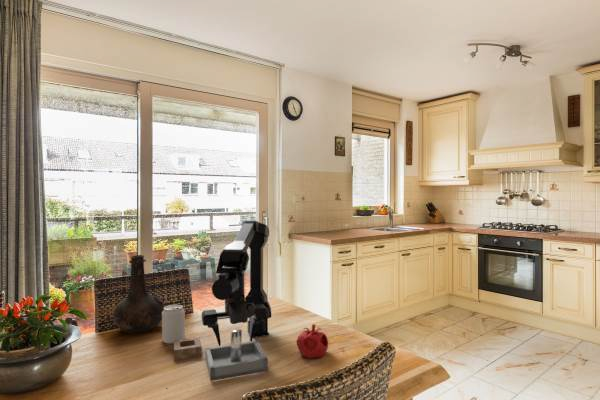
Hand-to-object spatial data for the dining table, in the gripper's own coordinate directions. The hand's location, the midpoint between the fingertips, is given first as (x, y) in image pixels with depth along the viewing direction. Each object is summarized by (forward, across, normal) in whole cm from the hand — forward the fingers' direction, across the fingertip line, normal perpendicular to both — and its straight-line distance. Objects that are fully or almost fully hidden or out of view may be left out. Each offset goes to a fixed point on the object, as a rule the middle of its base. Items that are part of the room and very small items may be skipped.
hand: (235, 343), depth 109 cm
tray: (+6, 0, 0) cm, 6 cm away
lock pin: (+5, 0, 0) cm, 5 cm away
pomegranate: (+7, +24, -1) cm, 25 cm away
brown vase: (+7, -29, +43) cm, 52 cm away
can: (+7, -17, +26) cm, 32 cm away
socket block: (+6, -13, +13) cm, 20 cm away
